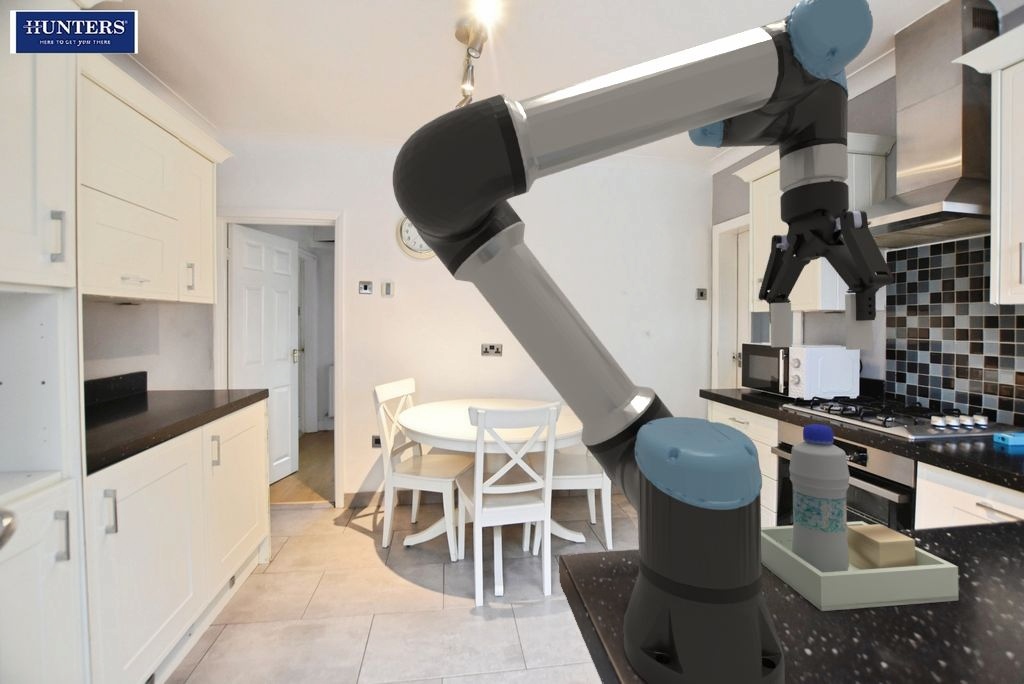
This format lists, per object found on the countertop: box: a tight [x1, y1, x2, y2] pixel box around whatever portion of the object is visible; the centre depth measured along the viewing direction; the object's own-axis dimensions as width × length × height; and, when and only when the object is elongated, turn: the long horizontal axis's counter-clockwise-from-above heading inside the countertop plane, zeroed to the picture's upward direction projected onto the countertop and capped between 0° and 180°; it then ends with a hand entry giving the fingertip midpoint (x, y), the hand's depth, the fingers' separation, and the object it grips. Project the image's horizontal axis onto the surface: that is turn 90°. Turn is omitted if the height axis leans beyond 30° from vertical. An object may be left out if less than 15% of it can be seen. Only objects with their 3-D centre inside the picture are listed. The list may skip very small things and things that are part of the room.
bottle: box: [788, 423, 851, 573], centre depth 60 cm, size 7×7×20 cm
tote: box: [761, 520, 959, 612], centre depth 61 cm, size 18×14×4 cm
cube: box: [847, 523, 916, 570], centre depth 61 cm, size 5×5×5 cm
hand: (815, 348), depth 60 cm, fingers open, 13 cm apart
